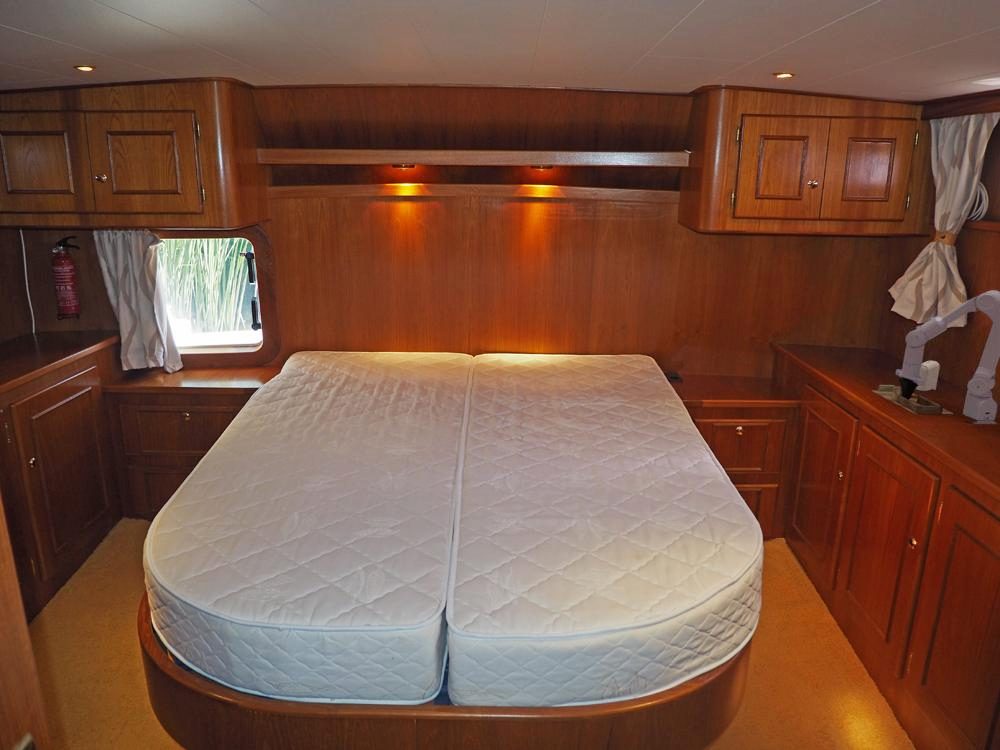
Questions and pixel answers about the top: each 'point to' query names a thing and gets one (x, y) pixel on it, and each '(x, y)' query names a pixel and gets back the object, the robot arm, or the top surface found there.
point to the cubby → (927, 406)
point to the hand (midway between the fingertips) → (906, 399)
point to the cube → (897, 392)
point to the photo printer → (929, 375)
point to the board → (887, 393)
